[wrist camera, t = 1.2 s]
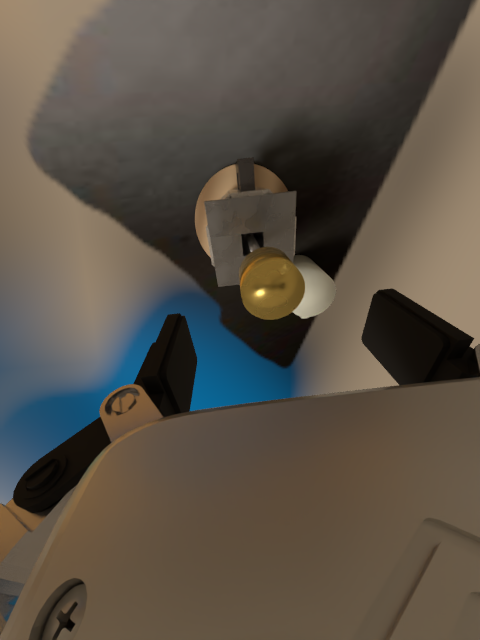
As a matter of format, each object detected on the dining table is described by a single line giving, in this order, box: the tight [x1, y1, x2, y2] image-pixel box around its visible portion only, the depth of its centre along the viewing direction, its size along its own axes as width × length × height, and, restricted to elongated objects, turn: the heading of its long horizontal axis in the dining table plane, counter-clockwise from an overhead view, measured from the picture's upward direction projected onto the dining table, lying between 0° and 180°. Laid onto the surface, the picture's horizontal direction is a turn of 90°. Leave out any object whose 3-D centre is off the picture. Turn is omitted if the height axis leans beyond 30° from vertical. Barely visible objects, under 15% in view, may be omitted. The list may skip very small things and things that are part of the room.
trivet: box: [195, 164, 288, 258], centre depth 34 cm, size 16×16×1 cm
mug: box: [293, 255, 336, 318], centre depth 37 cm, size 8×9×9 cm
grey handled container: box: [204, 157, 296, 287], centre depth 28 cm, size 10×13×13 cm
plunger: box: [239, 232, 305, 320], centre depth 20 cm, size 8×8×18 cm
